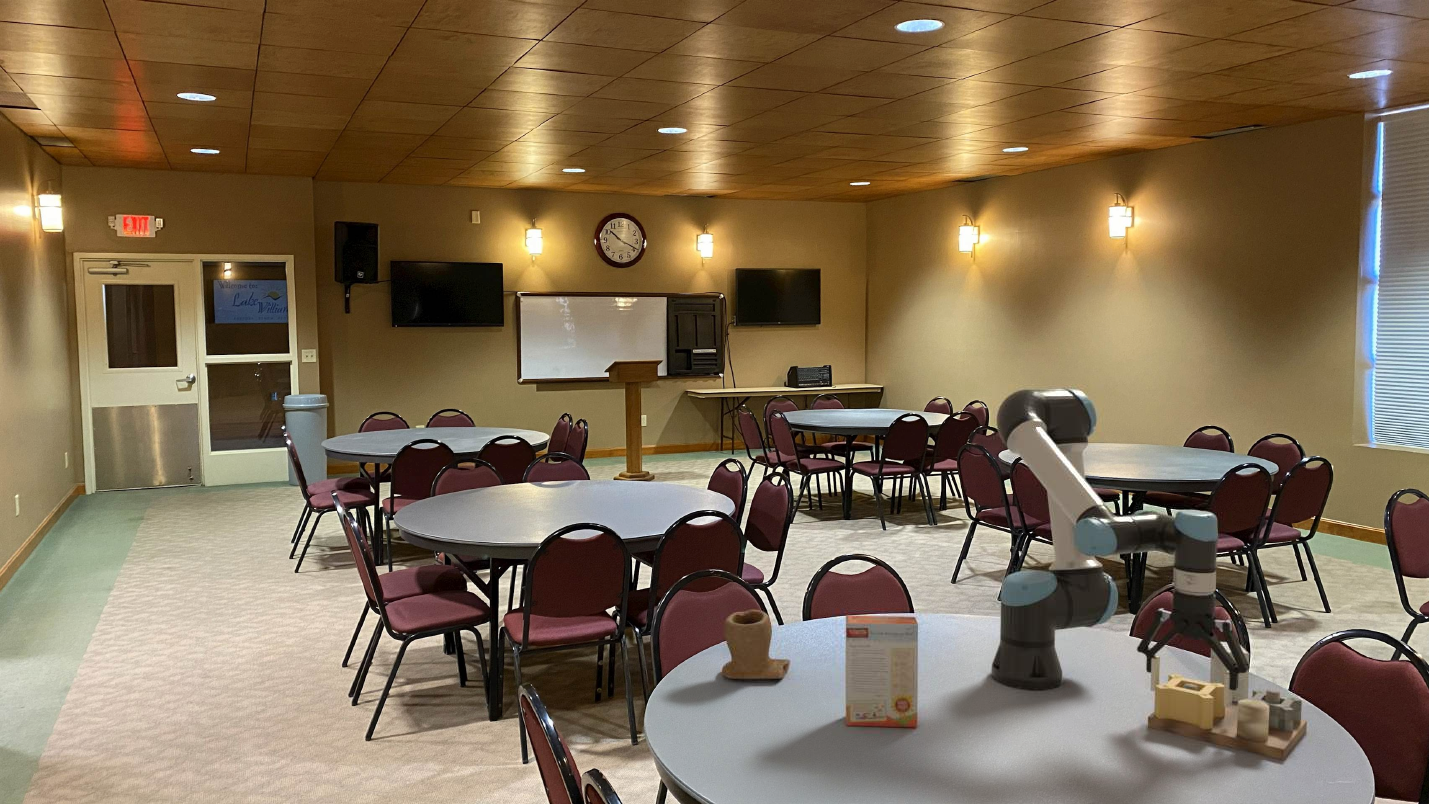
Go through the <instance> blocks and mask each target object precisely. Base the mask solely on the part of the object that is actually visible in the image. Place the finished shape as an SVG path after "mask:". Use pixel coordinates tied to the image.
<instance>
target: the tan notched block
mask: <svg viewBox="0 0 1429 804" xmlns="http://www.w3.org/2000/svg"><path fill="white" fill-rule="evenodd" d="M1184 684H1194V685H1196V686H1198V689H1197V691H1194V690H1189V689H1185V688H1184ZM1153 705H1154V707H1153V708H1154V709H1153V710H1154V711H1153V712H1154V715H1155V716H1157V717H1158V718H1170V719H1174V720H1179V721H1183V722H1187V723H1191V724H1196V725H1198V726H1199V727H1201V728H1202V729H1213V718H1214V717H1225V707H1224V685H1222V684H1221V683H1210V682H1205V681H1201V680H1196V679H1191V678H1188V677H1187V678H1186V677H1183V676H1181V675H1180V674H1178V673H1177V674H1174V673H1173V674H1168V680H1167V683H1165V684H1159V685H1155V691H1154V704H1153Z"/></svg>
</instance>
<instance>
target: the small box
mask: <svg viewBox="0 0 1429 804" xmlns="http://www.w3.org/2000/svg"><path fill="white" fill-rule="evenodd" d="M1220 643H1221V644H1222V645H1223V647H1224V648H1225V649H1226V651H1227V652H1228V653H1229V655H1230V656H1231V657H1232V658H1233V660H1234V661H1235V659H1234V657H1233V655H1232V653H1231V651H1230V649H1229V646H1228V644H1227V642H1226V641H1220ZM1239 645H1240V647H1241V649H1242V651H1243V653H1244V655H1245V657H1246V660H1247V662H1248V664H1249V665H1250V653H1249V652H1248V650H1246V649H1245V648H1244V647H1243V646H1242V645H1241V644H1240V643H1239ZM1235 662H1236V661H1235ZM1209 670H1210V671H1209V672H1210V676H1209V677H1210V678H1209V683H1221V684H1222V685H1224V682H1225V673H1226V672H1227V671H1228V670H1227V668H1226V667H1225V666H1224V664H1223V663H1222V662H1221V660H1220V659H1219V658H1218V656H1217V655H1216V654H1215V652H1214V651H1213V650H1212V648H1211V647H1210V669H1209ZM1249 671H1250V669H1249V670H1248V671H1247V672H1246V673H1239V677H1238V688H1237V689H1236V690H1235V691H1234V690H1232V702H1237V703H1238V701H1240V700H1244V699H1249V679H1250V678H1249V673H1250V672H1249Z"/></svg>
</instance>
